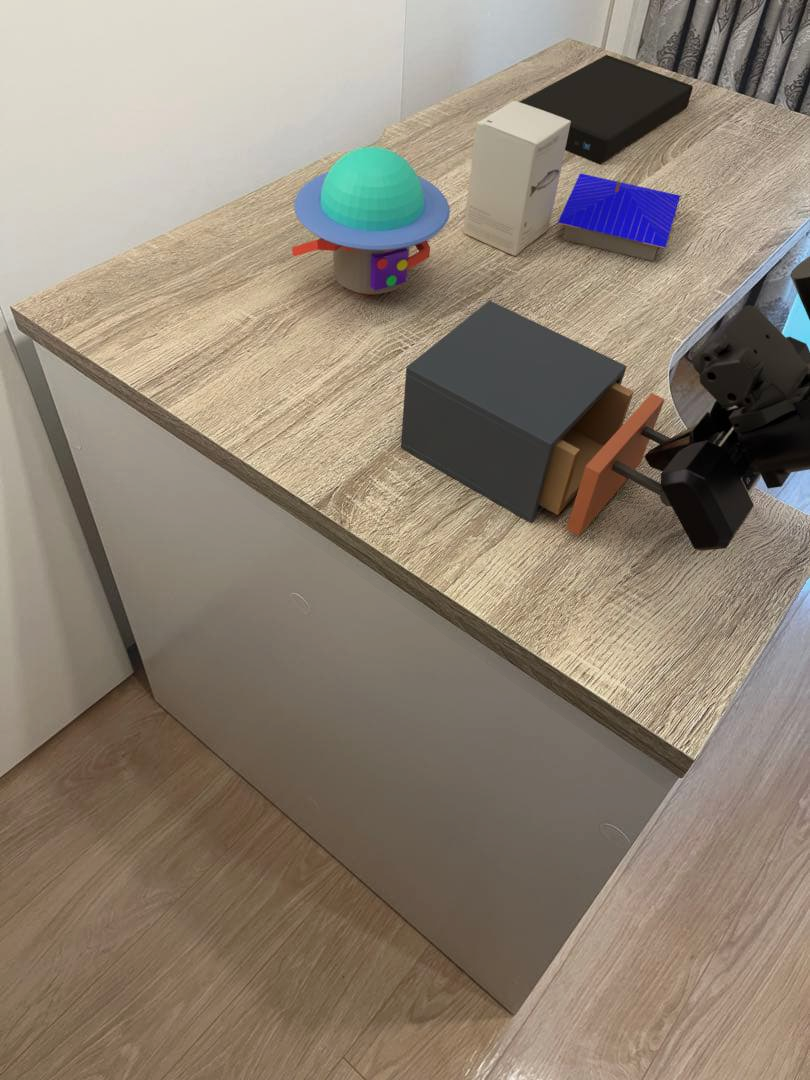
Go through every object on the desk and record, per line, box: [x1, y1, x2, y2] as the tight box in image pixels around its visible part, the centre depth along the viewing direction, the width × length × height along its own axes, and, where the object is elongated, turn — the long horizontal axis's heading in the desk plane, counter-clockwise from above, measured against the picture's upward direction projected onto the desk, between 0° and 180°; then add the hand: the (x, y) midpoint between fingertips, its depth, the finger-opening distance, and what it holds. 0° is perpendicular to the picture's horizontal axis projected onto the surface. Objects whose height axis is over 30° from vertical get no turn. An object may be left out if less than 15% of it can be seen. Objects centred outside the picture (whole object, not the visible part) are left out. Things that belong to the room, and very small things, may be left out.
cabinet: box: [400, 300, 627, 524], centre depth 72 cm, size 13×12×9 cm
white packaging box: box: [462, 100, 571, 257], centre depth 93 cm, size 7×7×13 cm
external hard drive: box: [519, 54, 694, 165], centre depth 117 cm, size 14×23×3 cm, turn 140°
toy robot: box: [292, 146, 451, 296], centre depth 84 cm, size 15×15×14 cm
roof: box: [557, 172, 681, 262], centre depth 98 cm, size 12×12×5 cm
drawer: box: [539, 382, 672, 537], centre depth 70 cm, size 18×11×7 cm, turn 53°
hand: (648, 459), depth 66 cm, fingers closed, pressing on drawer
